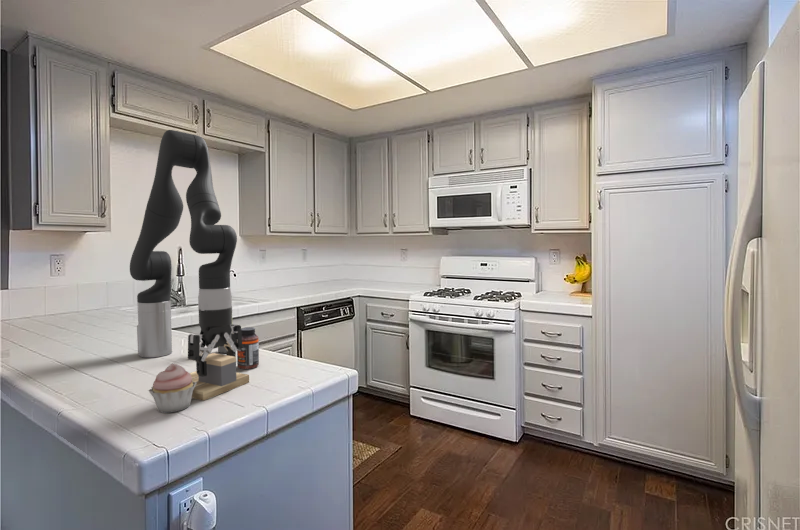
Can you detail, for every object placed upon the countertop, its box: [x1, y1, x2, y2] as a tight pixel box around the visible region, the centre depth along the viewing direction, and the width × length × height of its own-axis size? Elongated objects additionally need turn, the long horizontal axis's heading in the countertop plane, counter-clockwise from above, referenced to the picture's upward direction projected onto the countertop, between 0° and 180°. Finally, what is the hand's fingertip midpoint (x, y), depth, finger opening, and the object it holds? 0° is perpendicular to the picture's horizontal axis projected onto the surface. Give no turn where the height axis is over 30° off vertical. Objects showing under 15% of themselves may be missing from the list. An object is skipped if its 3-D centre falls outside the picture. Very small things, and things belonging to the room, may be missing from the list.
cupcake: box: [147, 363, 197, 414], centre depth 93 cm, size 9×9×10 cm
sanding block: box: [198, 352, 237, 386], centre depth 105 cm, size 8×4×6 cm, turn 64°
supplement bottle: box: [236, 326, 260, 370], centre depth 123 cm, size 6×6×11 cm
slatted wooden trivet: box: [189, 371, 250, 402], centre depth 107 cm, size 15×14×2 cm
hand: (217, 370), depth 105 cm, fingers open, 8 cm apart
